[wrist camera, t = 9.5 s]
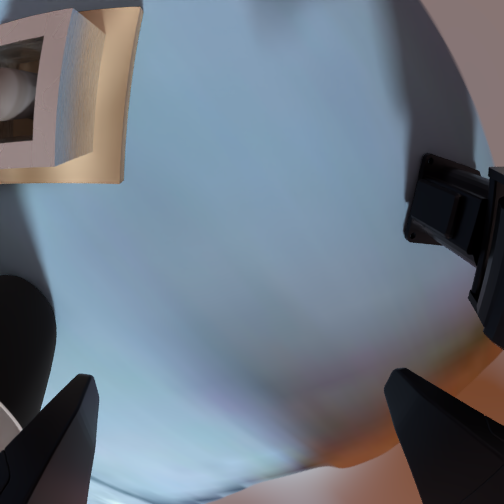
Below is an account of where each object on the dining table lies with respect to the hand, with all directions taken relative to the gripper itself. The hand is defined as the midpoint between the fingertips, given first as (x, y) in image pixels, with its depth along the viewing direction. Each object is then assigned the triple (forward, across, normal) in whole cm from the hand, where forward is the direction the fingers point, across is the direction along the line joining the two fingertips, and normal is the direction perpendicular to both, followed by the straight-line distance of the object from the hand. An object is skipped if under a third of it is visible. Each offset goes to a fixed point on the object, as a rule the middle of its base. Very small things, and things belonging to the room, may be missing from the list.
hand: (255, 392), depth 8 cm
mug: (+12, +16, +8) cm, 22 cm away
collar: (+11, +11, -8) cm, 17 cm away
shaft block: (+12, +11, -8) cm, 18 cm away
